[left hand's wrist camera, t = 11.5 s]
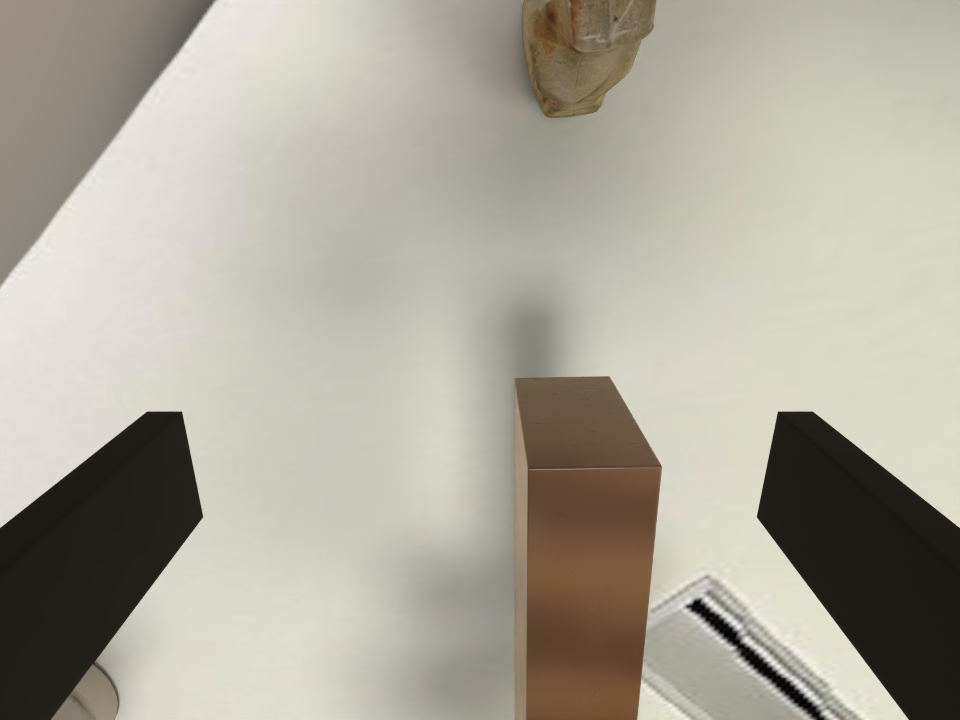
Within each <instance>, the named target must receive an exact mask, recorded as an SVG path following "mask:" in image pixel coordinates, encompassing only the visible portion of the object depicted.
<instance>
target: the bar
mask: <svg viewBox="0 0 960 720" xmlns="http://www.w3.org/2000/svg"><path fill="white" fill-rule="evenodd" d="M661 470H662V466H661V464H660V462H659V461H658V459H657V457H656V455H655V454H654V452H653V450H652V449H651V447H650V445H649V443H648V442H647V440H646V438H645V437H644V435H643V433H642V431H641V430H640V428H639V426H638V424H637V423H636V421H635V419H634V418H633V416H632V414H631V412H630V411H629V409H628V407H627V406H626V404H625V402H624V400H623V399H622V397H621V395H620V393H619V392H618V390H617V388H616V387H615V385H614V383H613V381H612V380H611V378H610V377H609V376H605V377H555V378H515V379H514V546H515V720H637V716H638V706H639V695H640V685H641V675H642V665H643V655H644V644H645V634H646V624H647V614H648V603H649V593H650V583H651V573H652V562H653V552H654V542H655V532H656V521H657V511H658V501H659V491H660V481H661Z"/></svg>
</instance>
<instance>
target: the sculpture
mask: <svg viewBox="0 0 960 720" xmlns="http://www.w3.org/2000/svg"><path fill="white" fill-rule="evenodd" d="M655 5H656V0H524V3H523V9H522V32H523V43H524V49H525V55H526V60H527V65H528V70H529V75H530V79H531V83H532V88H533V91H534V94H535V97H536V99H537V102H538V104H539V106H540V108H541V110H542V112H543V113H544V114H545V115H546V116H547V117H551V118H553V117H570V116H576V115H583V114H589V113H593V112H596V111H597V110H598V109H599V108H600V107H601V105H602V102H603V99H604V96H605V93H606V92H607V91H609V90H610V89H611V88H612V87H613V86H615V85H616V84H617V83H618V82H619V81H620V80H622V79H623V78H624V77H625V76H626V75H627V74H628V73H629V71H630V69H631V67H632V65H633V62H634V60H635V57H636V54H637V51H638V48H639V46H640V43H641V40H642V39H643V38H644V37H646V36H647V35H648V34H649V33H650V32H651V31H652V30H653V27H654V25H653V20H654V12H655Z"/></svg>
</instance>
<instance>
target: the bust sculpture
mask: <svg viewBox="0 0 960 720" xmlns="http://www.w3.org/2000/svg"><path fill="white" fill-rule="evenodd" d="M117 709H118V701H117V696H116V693H115V690H114V688H113V686H112V684H111V683H110V681H109V680H108V678H107V677H106V676H105V675H104V674H103V673H102V672H101V671H100V670H99V669H98V668H97V667H96V666H94V665H92V666H91V667H90V669H89V670H88V671H87V673H86V674H85V675H84V676H83V678H82V679H81V680H80V682H79V683H78V684H77V686H76V687H75V688H74V690H73V691H72V692H71V694H70V695H69V696H68V698H67V699H66V700H65V702H64V703H63V704H62V706H61V707H60V708H59V710H58V711H57V712H56V714H55V715H54V716H53V718H52V719H51V720H114V719H115V717H116V714H117Z"/></svg>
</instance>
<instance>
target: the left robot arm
mask: <svg viewBox="0 0 960 720" xmlns="http://www.w3.org/2000/svg"><path fill="white" fill-rule="evenodd" d="M202 518H203V514H202V509H201V504H200V499H199V494H198V489H197V484H196V479H195V474H194V469H193V464H192V459H191V454H190V449H189V444H188V439H187V434H186V429H185V424H184V419H183V414H182V412H146V413H145V414H144V415H142V416H141V417H140V418H139V419H137V420H136V421H135V422H134V423H132V424H131V425H130V426H128V427H127V428H126V429H125V430H123V431H122V432H121V433H120V434H118V435H117V436H116V437H115V438H113V439H112V440H111V441H110V442H108V443H107V444H106V445H104V446H103V447H102V448H101V449H99V450H98V451H97V452H96V453H94V454H93V455H92V456H91V457H89V458H88V459H87V460H86V461H84V462H83V463H82V464H81V465H79V466H78V467H77V468H75V469H74V470H73V471H72V472H70V473H69V474H68V475H67V476H65V477H64V478H63V479H62V480H60V481H59V482H58V483H57V484H55V485H54V486H53V487H51V488H50V489H49V490H48V491H46V492H45V493H44V494H43V495H41V496H40V497H39V498H38V499H36V500H35V501H34V502H33V503H31V504H30V505H29V506H28V507H26V508H25V509H24V510H22V511H21V512H20V513H19V514H17V515H16V516H15V517H14V518H12V519H11V520H10V521H9V522H7V523H6V524H5V525H4V526H2V527H1V528H0V720H51V719H52V718H53V716H54V715H55V714H56V712H57V711H58V710H59V708H60V707H61V706H62V704H63V703H64V702H65V700H66V699H67V698H68V696H69V695H70V694H71V692H72V691H73V690H74V688H75V687H76V686H77V684H78V683H79V682H80V680H81V679H82V678H83V676H84V675H85V674H86V673H87V671H88V670H89V669H90V667H91V666H92V665H93V663H94V662H95V661H96V659H97V658H98V657H99V655H100V654H101V653H102V651H103V650H104V649H105V647H106V646H107V645H108V643H109V642H110V641H111V639H112V638H113V637H114V635H115V634H116V633H117V631H118V630H119V629H120V627H121V626H122V625H123V623H124V622H125V621H126V619H127V618H128V617H129V615H130V614H131V613H132V611H133V610H134V609H135V607H136V606H137V605H138V603H139V602H140V601H141V599H142V598H143V597H144V595H145V594H146V593H147V591H148V590H149V589H150V587H151V586H152V585H153V583H154V582H155V581H156V579H157V578H158V577H159V575H160V574H161V573H162V571H163V570H164V569H165V567H166V566H167V565H168V563H169V562H170V561H171V559H172V558H173V557H174V555H175V554H176V553H177V551H178V550H179V549H180V547H181V546H182V545H183V543H184V542H185V541H186V539H187V538H188V537H189V535H190V534H191V533H192V531H193V530H194V529H195V527H196V526H197V525H198V523H199V522H200V521H201V519H202ZM757 518H758V519H759V521H760V522H761V523H762V525H763V526H764V527H765V529H766V530H767V531H768V533H769V534H770V535H771V537H772V538H773V539H774V541H775V542H776V543H777V545H778V546H779V547H780V549H781V550H782V551H783V553H784V554H785V555H786V557H787V558H788V559H789V561H790V562H791V563H792V565H793V566H794V567H795V569H796V570H797V571H798V573H799V574H800V575H801V577H802V578H803V579H804V581H805V582H806V583H807V585H808V586H809V587H810V589H811V590H812V591H813V593H814V594H815V595H816V597H817V598H818V599H819V601H820V602H821V603H822V605H823V606H824V607H825V609H826V610H827V611H828V613H829V614H830V615H831V617H832V618H833V619H834V621H835V622H836V623H837V625H838V626H839V627H840V629H841V630H842V631H843V633H844V634H845V635H846V637H847V638H848V639H849V641H850V642H851V643H852V645H853V646H854V647H855V649H856V650H857V651H858V653H859V654H860V655H861V657H862V658H863V659H864V661H865V662H866V663H867V665H868V666H869V667H870V669H871V670H872V671H873V673H874V674H875V675H876V677H877V678H878V679H879V680H880V682H881V683H882V684H883V686H884V687H885V688H886V690H887V691H888V692H889V694H890V695H891V696H892V698H893V699H894V700H895V702H896V703H897V704H898V706H899V707H900V708H901V710H902V711H903V712H904V714H905V715H906V716H907V718H908V719H909V720H960V528H959V527H958V526H956V525H955V524H954V523H953V522H951V521H950V520H949V519H948V518H946V517H945V516H944V515H943V514H941V513H940V512H939V511H938V510H936V509H935V508H934V507H932V506H931V505H930V504H929V503H927V502H926V501H925V500H924V499H922V498H921V497H920V496H919V495H917V494H916V493H915V492H914V491H912V490H911V489H910V488H909V487H907V486H906V485H905V484H903V483H902V482H901V481H900V480H898V479H897V478H896V477H895V476H893V475H892V474H891V473H890V472H888V471H887V470H886V469H885V468H883V467H882V466H881V465H879V464H878V463H877V462H876V461H874V460H873V459H872V458H871V457H869V456H868V455H867V454H866V453H864V452H863V451H862V450H861V449H859V448H858V447H857V446H856V445H854V444H853V443H852V442H850V441H849V440H848V439H847V438H845V437H844V436H843V435H842V434H840V433H839V432H838V431H837V430H835V429H834V428H833V427H832V426H830V425H829V424H828V423H826V422H825V421H824V420H823V419H821V418H820V417H819V416H818V415H816V414H815V413H814V412H778V414H777V419H776V424H775V429H774V434H773V439H772V444H771V449H770V454H769V459H768V464H767V469H766V474H765V479H764V484H763V489H762V494H761V499H760V504H759V509H758V514H757Z"/></svg>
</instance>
